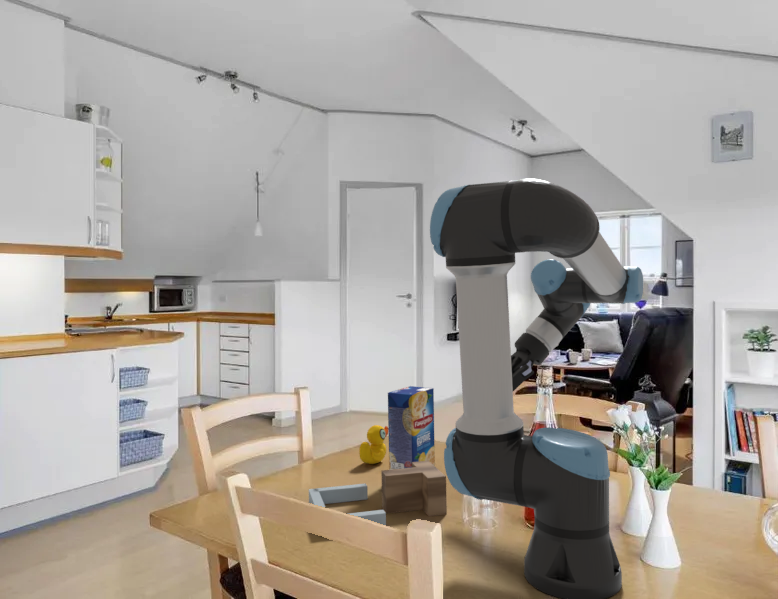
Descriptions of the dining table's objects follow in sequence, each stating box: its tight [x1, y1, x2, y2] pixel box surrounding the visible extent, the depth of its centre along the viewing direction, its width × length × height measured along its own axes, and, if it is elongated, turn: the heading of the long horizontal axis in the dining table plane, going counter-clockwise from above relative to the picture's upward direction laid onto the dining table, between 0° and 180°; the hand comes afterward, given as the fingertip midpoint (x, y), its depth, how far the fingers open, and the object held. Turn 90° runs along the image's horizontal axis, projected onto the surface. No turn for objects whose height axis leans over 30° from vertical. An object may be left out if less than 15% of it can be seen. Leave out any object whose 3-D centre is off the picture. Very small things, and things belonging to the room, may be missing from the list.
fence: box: [308, 483, 387, 526], centre depth 127 cm, size 19×13×3 cm
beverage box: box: [387, 385, 436, 470], centre depth 151 cm, size 7×11×22 cm, turn 147°
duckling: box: [358, 424, 389, 465], centre depth 165 cm, size 11×5×10 cm, turn 143°
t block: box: [380, 461, 448, 517], centre depth 131 cm, size 12×12×8 cm
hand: (470, 420), depth 134 cm, fingers closed
